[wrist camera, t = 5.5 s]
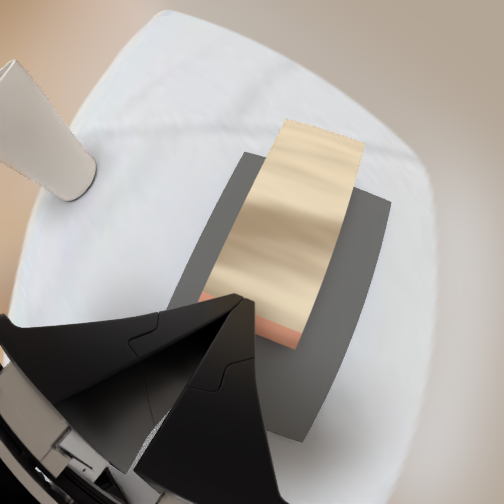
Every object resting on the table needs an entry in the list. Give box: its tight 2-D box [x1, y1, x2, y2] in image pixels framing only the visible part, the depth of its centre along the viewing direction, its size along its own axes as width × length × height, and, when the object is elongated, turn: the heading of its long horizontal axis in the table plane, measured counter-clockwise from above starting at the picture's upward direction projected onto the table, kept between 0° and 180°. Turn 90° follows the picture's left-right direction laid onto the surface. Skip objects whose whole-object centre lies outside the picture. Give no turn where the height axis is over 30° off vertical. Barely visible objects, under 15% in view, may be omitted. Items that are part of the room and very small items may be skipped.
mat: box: [167, 152, 391, 442], centre depth 18 cm, size 18×12×1 cm, turn 157°
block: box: [198, 119, 365, 349], centre depth 16 cm, size 5×5×12 cm
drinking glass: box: [0, 59, 96, 201], centre depth 16 cm, size 7×7×15 cm
